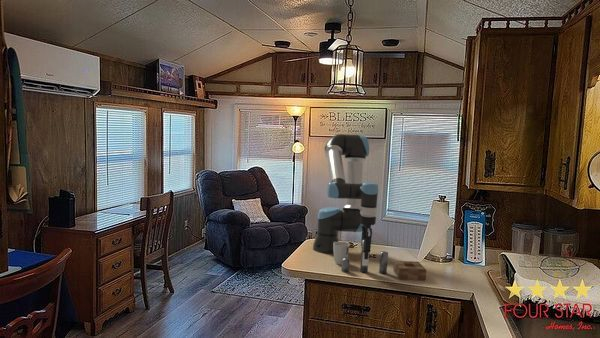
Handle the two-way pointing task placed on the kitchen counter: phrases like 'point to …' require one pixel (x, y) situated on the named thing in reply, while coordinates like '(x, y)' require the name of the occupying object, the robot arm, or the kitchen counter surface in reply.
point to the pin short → (345, 264)
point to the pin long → (362, 268)
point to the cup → (340, 251)
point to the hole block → (409, 270)
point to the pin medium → (383, 262)
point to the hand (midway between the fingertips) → (364, 263)
